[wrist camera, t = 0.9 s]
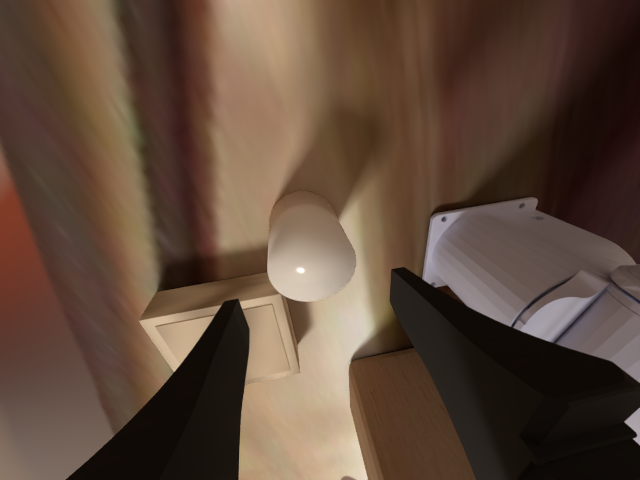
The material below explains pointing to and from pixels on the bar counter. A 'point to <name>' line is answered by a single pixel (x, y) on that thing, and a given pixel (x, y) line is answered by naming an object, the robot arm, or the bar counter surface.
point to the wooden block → (403, 421)
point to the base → (202, 305)
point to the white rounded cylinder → (308, 248)
